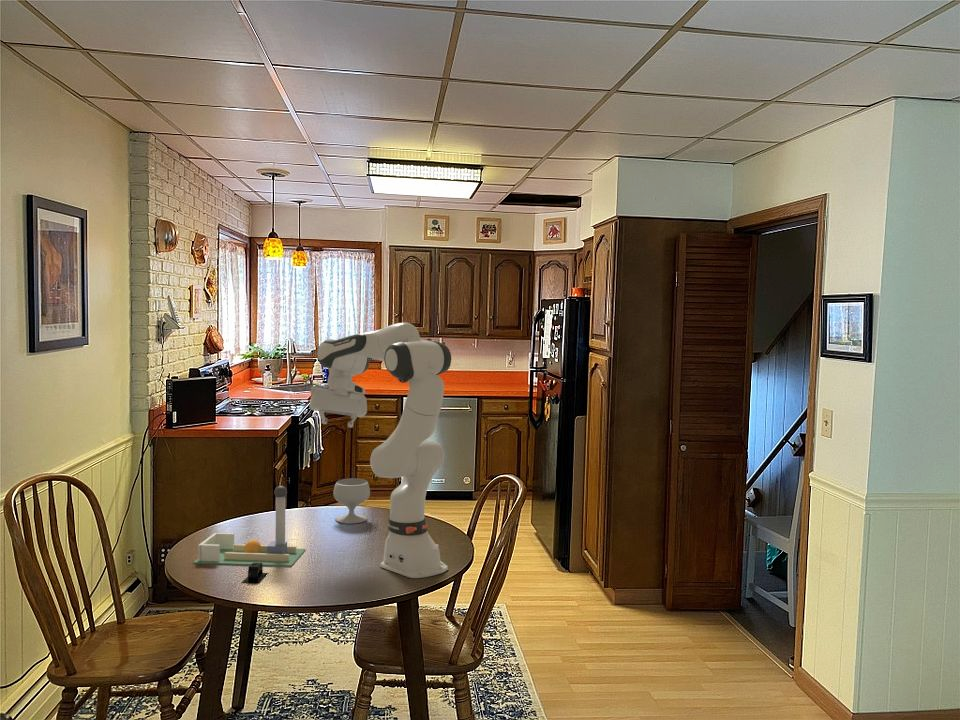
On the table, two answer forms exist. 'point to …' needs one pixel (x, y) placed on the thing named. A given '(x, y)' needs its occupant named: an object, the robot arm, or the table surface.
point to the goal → (217, 541)
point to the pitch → (292, 559)
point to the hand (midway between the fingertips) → (337, 425)
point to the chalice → (351, 498)
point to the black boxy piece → (255, 574)
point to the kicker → (279, 523)
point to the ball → (252, 546)
